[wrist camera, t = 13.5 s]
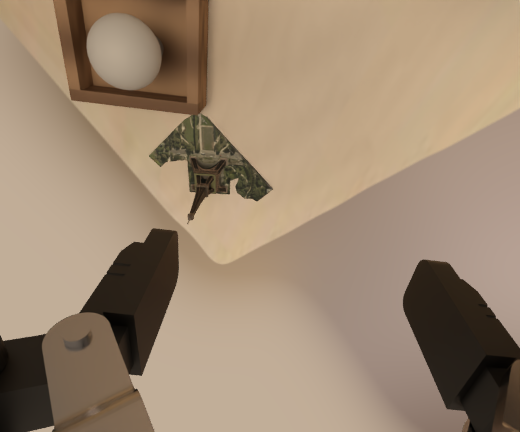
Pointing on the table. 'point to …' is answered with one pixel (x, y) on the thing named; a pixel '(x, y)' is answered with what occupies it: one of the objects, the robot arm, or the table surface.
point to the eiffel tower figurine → (209, 161)
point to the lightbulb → (124, 51)
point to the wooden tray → (173, 59)
